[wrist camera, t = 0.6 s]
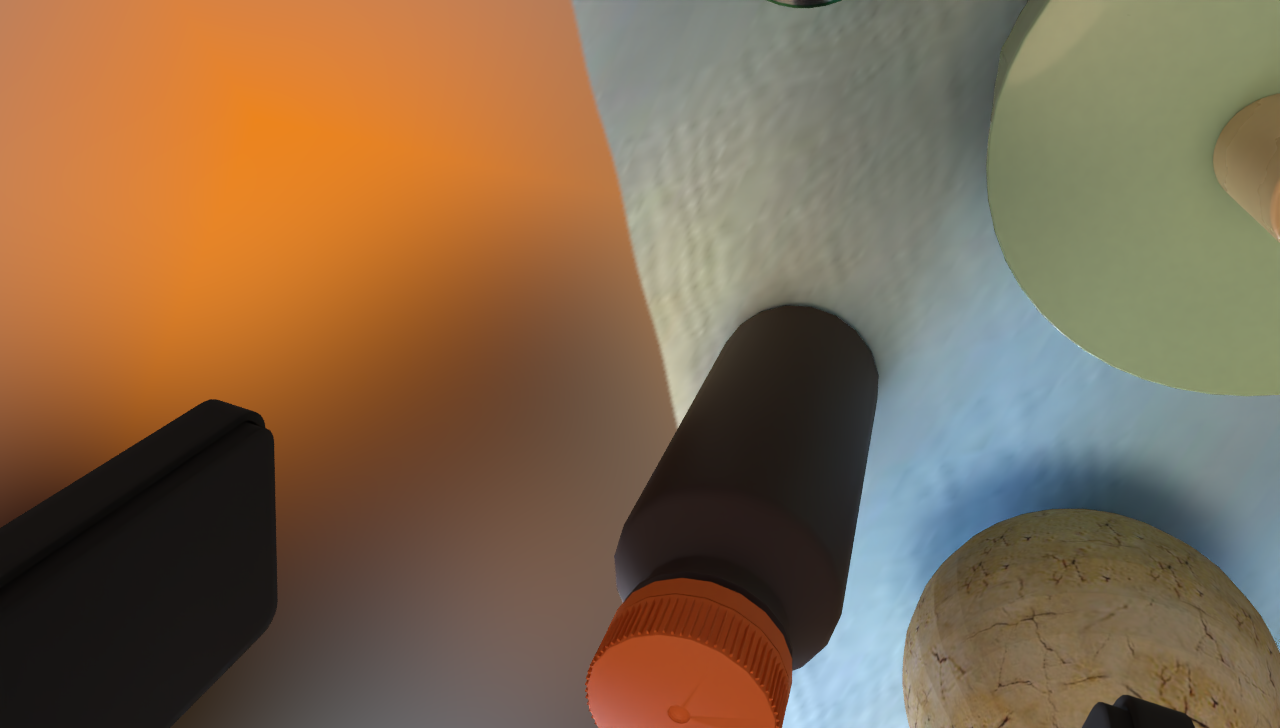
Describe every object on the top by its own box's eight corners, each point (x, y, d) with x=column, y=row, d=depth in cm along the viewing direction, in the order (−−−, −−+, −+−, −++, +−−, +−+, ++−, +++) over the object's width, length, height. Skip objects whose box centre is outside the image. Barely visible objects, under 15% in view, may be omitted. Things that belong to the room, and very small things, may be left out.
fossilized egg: (1312, 560, 37) (1507, 904, 24) (1091, 739, 43) (1150, 1087, 30) (1032, 389, 37) (1074, 632, 24) (854, 589, 44) (812, 868, 31)
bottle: (836, 276, 38) (737, 566, 20) (906, 416, 39) (869, 797, 22) (693, 337, 41) (500, 636, 23) (763, 465, 42) (631, 834, 25)
